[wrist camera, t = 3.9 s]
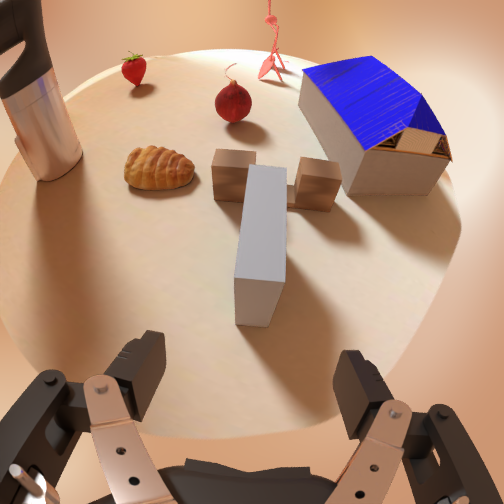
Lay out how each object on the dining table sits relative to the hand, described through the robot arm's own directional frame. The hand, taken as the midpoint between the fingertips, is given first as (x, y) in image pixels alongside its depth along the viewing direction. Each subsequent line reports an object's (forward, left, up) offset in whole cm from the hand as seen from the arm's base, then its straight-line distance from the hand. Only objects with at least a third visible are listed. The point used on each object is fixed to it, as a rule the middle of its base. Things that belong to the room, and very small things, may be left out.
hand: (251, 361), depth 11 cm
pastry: (-5, +27, -13) cm, 31 cm away
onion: (+8, +37, -12) cm, 40 cm away
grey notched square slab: (+4, +9, -12) cm, 16 cm away
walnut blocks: (+9, +19, -12) cm, 25 cm away
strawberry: (-10, +63, -12) cm, 65 cm away
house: (+28, +29, -13) cm, 42 cm away
